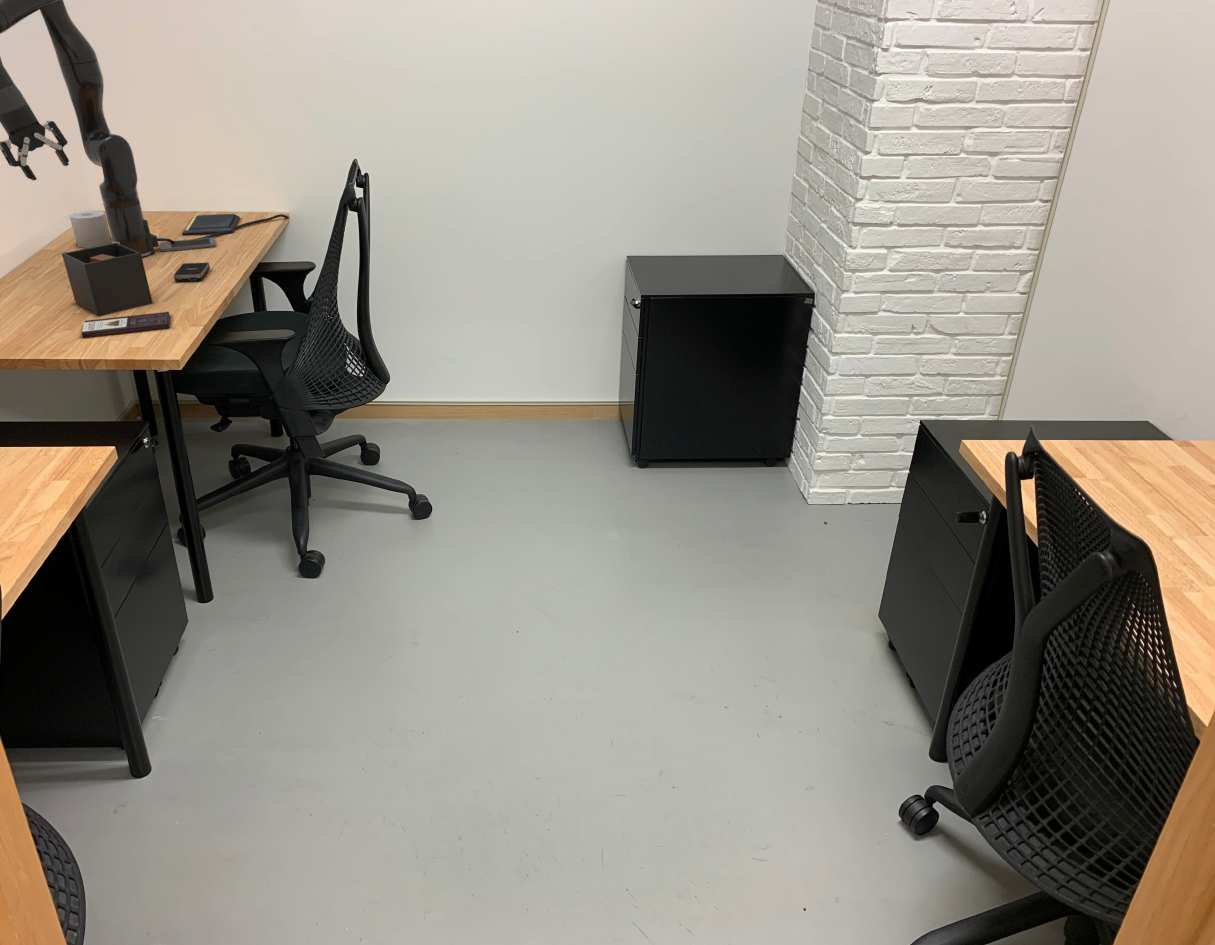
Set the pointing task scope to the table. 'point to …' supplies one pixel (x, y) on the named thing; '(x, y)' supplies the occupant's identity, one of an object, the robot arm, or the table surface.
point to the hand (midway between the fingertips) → (50, 172)
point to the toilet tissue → (90, 229)
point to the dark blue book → (211, 224)
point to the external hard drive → (191, 272)
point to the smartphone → (187, 244)
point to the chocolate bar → (125, 324)
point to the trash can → (107, 279)
